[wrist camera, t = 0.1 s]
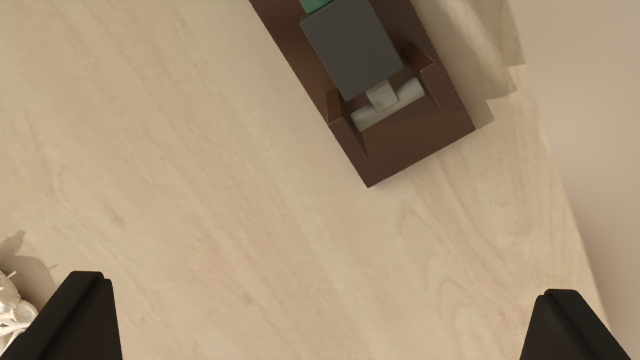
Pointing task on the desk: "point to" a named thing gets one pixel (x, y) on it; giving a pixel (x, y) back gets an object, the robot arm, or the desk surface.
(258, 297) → the desk surface
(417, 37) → the stand
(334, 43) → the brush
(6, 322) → the figurine
